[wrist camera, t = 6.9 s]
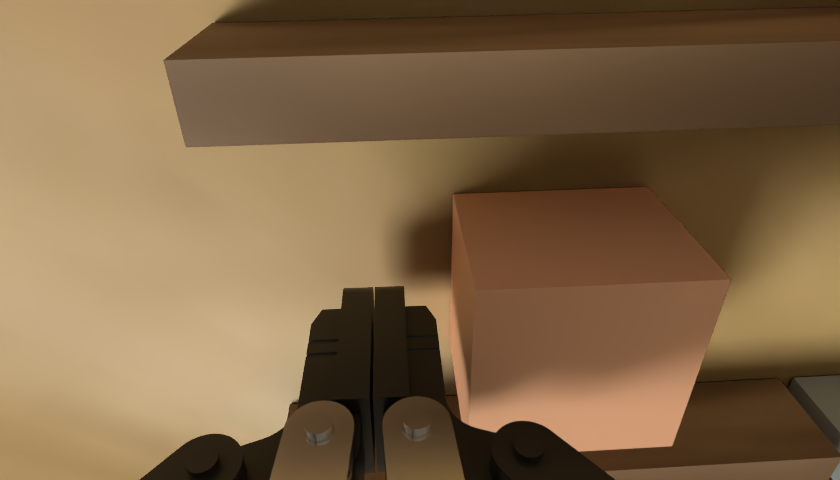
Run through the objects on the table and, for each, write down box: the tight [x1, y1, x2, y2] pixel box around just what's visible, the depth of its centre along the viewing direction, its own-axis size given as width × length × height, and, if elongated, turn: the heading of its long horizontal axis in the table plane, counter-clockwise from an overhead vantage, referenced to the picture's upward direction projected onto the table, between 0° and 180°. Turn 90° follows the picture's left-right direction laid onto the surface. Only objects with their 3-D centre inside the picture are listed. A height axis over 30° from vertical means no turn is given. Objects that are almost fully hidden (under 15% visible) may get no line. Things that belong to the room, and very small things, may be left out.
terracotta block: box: [450, 187, 732, 452], centre depth 14 cm, size 5×5×4 cm
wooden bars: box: [164, 7, 840, 480], centre depth 14 cm, size 13×16×3 cm
